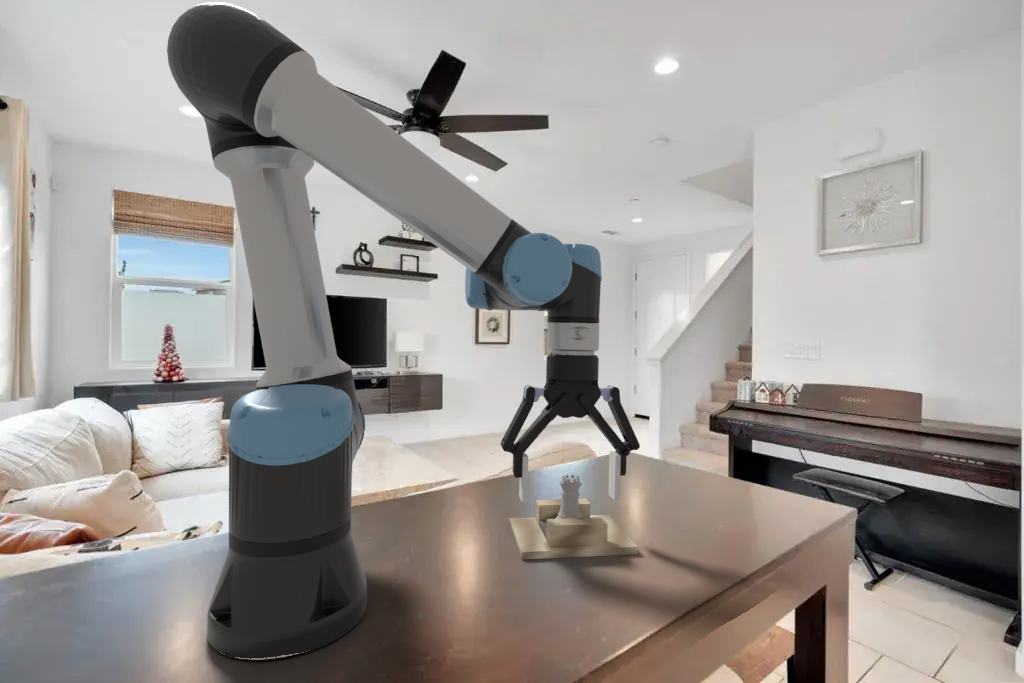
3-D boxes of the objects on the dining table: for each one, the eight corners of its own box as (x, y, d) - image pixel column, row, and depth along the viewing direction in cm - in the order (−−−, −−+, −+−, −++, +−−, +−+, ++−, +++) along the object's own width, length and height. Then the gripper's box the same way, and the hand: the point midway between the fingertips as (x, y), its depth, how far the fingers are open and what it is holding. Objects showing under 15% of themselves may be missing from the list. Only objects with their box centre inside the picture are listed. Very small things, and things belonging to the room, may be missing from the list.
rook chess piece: (589, 530, 73) (591, 476, 73) (576, 540, 69) (578, 483, 69) (562, 523, 76) (563, 471, 75) (548, 532, 72) (549, 478, 72)
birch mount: (521, 559, 65) (522, 529, 65) (509, 524, 77) (509, 499, 77) (637, 554, 68) (637, 524, 68) (607, 520, 80) (608, 496, 80)
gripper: (489, 352, 67) (486, 509, 67) (665, 355, 70) (661, 504, 70) (484, 350, 74) (481, 492, 74) (643, 353, 78) (640, 488, 78)
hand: (569, 498), depth 72 cm, fingers open, 13 cm apart
